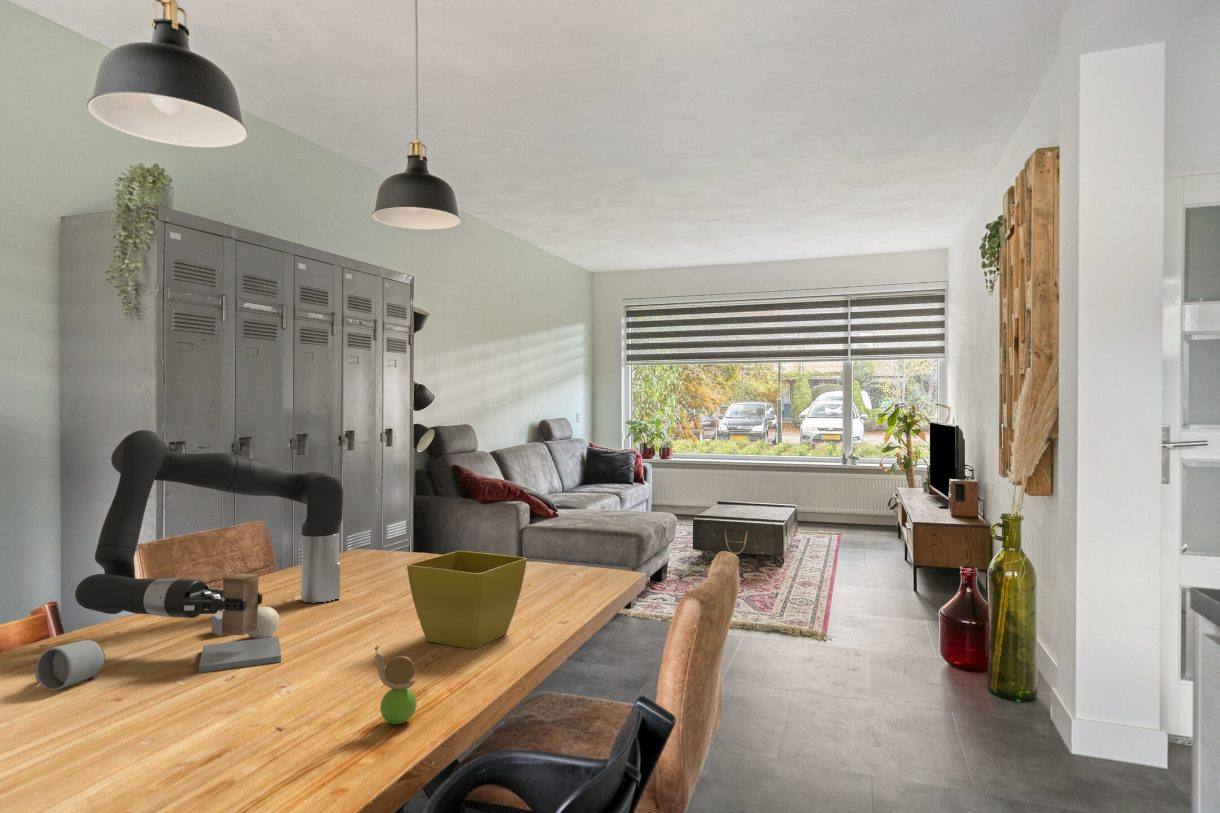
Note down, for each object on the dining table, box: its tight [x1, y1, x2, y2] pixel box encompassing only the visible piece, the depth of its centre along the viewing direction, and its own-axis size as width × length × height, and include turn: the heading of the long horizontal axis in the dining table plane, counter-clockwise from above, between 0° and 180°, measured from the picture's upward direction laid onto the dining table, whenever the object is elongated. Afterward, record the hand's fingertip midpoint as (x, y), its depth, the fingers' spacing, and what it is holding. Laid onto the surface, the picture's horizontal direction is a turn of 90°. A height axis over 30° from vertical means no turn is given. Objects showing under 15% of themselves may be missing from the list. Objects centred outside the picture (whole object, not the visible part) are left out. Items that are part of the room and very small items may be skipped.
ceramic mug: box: [35, 639, 106, 692], centre depth 130 cm, size 10×8×7 cm
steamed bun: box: [246, 606, 281, 639], centre depth 157 cm, size 7×7×7 cm
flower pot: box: [406, 550, 527, 650], centre depth 157 cm, size 19×19×17 cm
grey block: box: [211, 612, 228, 638], centre depth 161 cm, size 5×5×4 cm
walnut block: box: [222, 573, 259, 636], centre depth 145 cm, size 4×4×11 cm
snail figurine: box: [374, 645, 417, 725], centre depth 113 cm, size 5×6×12 cm
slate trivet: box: [198, 636, 282, 674], centre depth 145 cm, size 14×14×1 cm
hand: (252, 602), depth 144 cm, fingers closed on walnut block, 4 cm apart
